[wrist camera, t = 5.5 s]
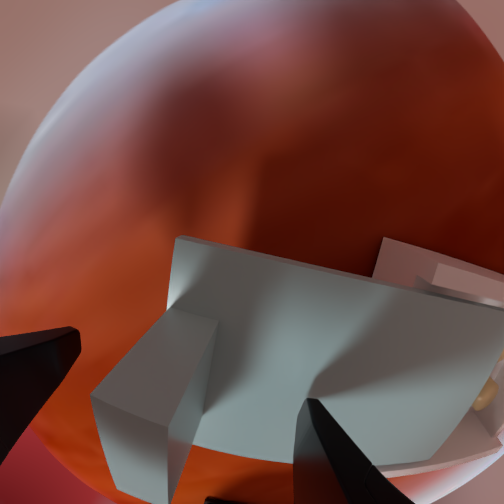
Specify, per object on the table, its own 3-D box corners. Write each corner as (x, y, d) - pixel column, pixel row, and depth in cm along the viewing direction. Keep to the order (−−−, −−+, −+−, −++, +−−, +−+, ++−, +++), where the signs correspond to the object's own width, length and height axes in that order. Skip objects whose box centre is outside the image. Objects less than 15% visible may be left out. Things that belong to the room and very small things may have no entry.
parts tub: (471, 413, 14) (496, 452, 9) (316, 414, 14) (323, 480, 9) (533, 286, 11) (578, 309, 6) (383, 236, 12) (438, 262, 7)
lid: (426, 452, 10) (452, 518, 5) (164, 425, 10) (123, 509, 5) (510, 309, 8) (582, 360, 3) (182, 235, 8) (74, 285, 4)
